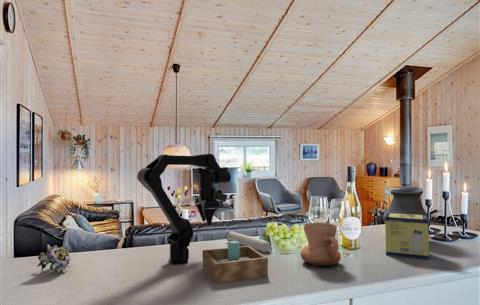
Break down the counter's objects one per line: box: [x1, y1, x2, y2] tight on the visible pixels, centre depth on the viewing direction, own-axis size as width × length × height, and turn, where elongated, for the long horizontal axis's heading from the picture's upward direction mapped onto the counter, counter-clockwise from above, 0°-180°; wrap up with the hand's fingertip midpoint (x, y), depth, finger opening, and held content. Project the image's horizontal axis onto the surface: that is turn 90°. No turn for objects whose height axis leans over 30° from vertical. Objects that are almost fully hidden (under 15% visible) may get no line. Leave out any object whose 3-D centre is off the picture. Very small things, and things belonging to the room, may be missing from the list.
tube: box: [226, 230, 271, 253], centre depth 150 cm, size 5×5×25 cm
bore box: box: [202, 245, 269, 284], centre depth 117 cm, size 18×17×6 cm
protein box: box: [384, 213, 430, 261], centre depth 137 cm, size 10×16×16 cm
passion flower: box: [37, 244, 71, 275], centre depth 117 cm, size 11×11×12 cm
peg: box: [227, 241, 240, 261], centre depth 117 cm, size 4×4×10 cm
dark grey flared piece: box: [382, 185, 432, 230], centre depth 160 cm, size 21×22×25 cm
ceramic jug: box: [300, 221, 342, 267], centre depth 125 cm, size 18×14×14 cm
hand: (206, 223), depth 137 cm, fingers open, 9 cm apart
